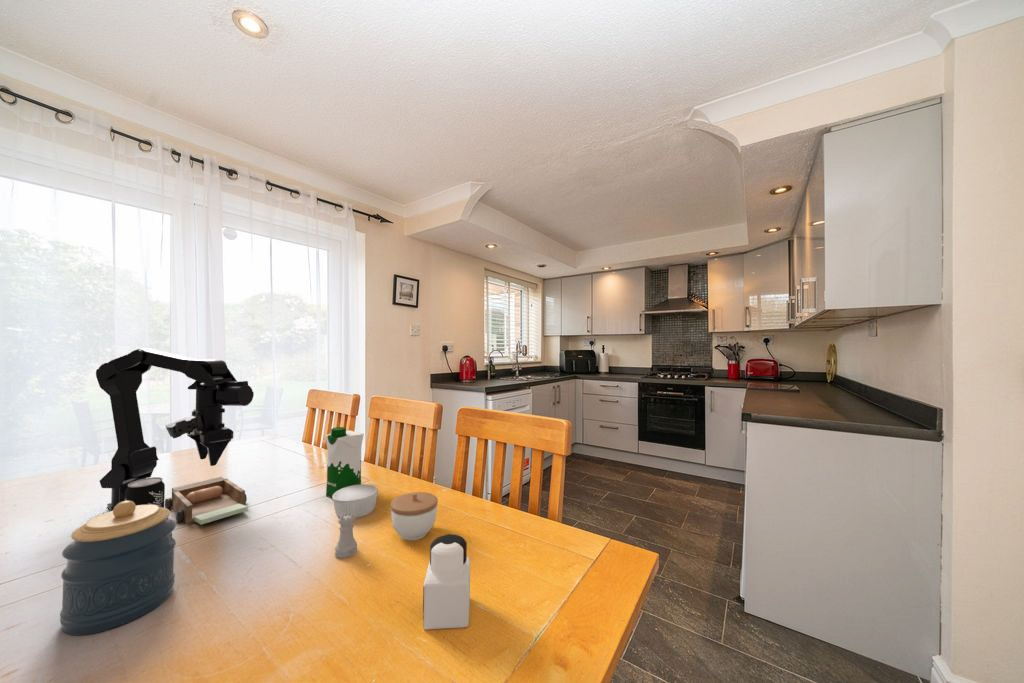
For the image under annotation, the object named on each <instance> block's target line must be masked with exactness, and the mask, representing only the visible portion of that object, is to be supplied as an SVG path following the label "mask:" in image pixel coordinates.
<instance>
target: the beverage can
mask: <svg viewBox="0 0 1024 683" xmlns="http://www.w3.org/2000/svg"><path fill="white" fill-rule="evenodd" d="M165 486H166V485H165V482H164V481H163V477H160V476H155V477H154V476H153V477H149V478H145V479H141V480H137V481H134V482H131V483H129V484H128V488H127V489H126V491H125V501H133V502H134V503H135V506H137V505H157V506H159V507H162V508H165V493H166V492H165V490H166V487H165Z"/></svg>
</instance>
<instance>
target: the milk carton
mask: <svg viewBox="0 0 1024 683" xmlns="http://www.w3.org/2000/svg"><path fill="white" fill-rule="evenodd" d="M364 434H365V433H362V432H358V431H354V430H347V428H346V427H344V426H339V427H333V428H331V429H330V433H329V434H325V441H326V442H325V443H326V449H327V450H326V451H327V452H326V453H327V460H326V461H327V463H326V489H325V496H326V495H327V497H329V498H331V497H332V496H333V494H334V493H335V492H336V491H338V490H340V489H342V488H345V487H348V486H353V485H360V484H362V445H363V440H364Z"/></svg>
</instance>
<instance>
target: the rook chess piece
mask: <svg viewBox="0 0 1024 683" xmlns="http://www.w3.org/2000/svg"><path fill="white" fill-rule="evenodd" d="M355 520H356V518H354V517H353V514H351V513H349V515H347V513H345V514H344V516H343V515H341V517H339V520H338V521H337V523H338V524H339V525H340V527H339V528H338V529H339V532H340V533H339V538H338V541H337V543H336V545H335V548H334V550H335V551H334V556H335V557H336V558H338V559H347V558H351V557H352V556H354V555H355V554H356V553H357V551H358V547H357V546H358V542H357V541H356V538H354V531H353V530H354V526H355V525H354V524H353V523H354V521H355Z"/></svg>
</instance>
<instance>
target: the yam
mask: <svg viewBox="0 0 1024 683" xmlns="http://www.w3.org/2000/svg"><path fill="white" fill-rule="evenodd" d="M222 493H223V489H222V487H220V486H214V487H210V488H206V489H202V490H198V491H194V492H191V493H189V494H188V495H187V496H186V499H187V500H188V501H189V502H190V503H191V504H195V503H199V502H202V501H206V500H210V499H214V498H217V497H219V496H220V495H221V494H222Z"/></svg>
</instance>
